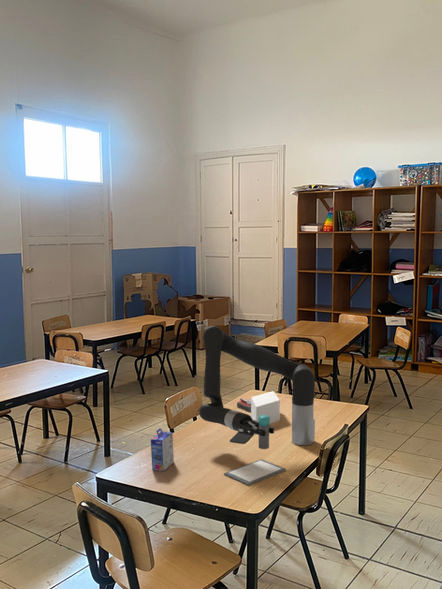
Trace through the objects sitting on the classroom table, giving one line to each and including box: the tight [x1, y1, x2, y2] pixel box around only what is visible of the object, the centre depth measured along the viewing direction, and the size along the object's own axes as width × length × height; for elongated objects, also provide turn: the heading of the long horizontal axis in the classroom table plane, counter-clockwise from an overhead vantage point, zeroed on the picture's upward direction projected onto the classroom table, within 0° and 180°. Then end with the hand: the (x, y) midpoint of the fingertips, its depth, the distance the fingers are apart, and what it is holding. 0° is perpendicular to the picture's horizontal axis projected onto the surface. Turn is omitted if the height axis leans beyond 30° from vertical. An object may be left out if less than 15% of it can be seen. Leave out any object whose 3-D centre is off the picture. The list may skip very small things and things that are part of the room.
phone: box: [229, 431, 255, 445], centre depth 257 cm, size 7×1×15 cm
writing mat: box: [223, 458, 287, 486], centre depth 219 cm, size 20×13×1 cm, turn 132°
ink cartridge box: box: [150, 428, 175, 472], centre depth 225 cm, size 10×6×14 cm, turn 161°
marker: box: [258, 415, 271, 450], centre depth 221 cm, size 4×4×12 cm
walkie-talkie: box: [236, 398, 251, 413], centre depth 302 cm, size 9×4×20 cm
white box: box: [250, 390, 281, 424], centre depth 282 cm, size 14×29×10 cm, turn 159°
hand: (269, 432), depth 218 cm, fingers closed on marker, 4 cm apart
